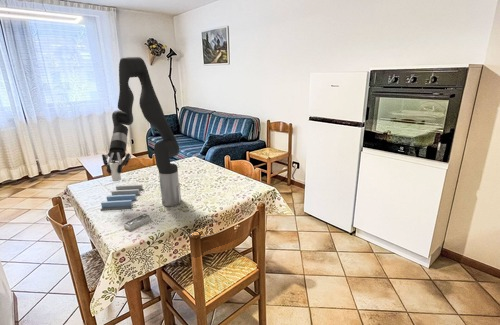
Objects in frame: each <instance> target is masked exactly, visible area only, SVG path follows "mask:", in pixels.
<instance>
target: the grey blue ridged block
mask: <svg viewBox="0 0 500 325" xmlns="http://www.w3.org/2000/svg"><path fill="white" fill-rule="evenodd" d="M143 188H144V187H143V184H140V183H139V184H125V185H124V184H123V185H122V184H121V185H116V186H115V190H111V193H110V194H111V195H106V200H105V201H101V202H100V205H101V208H100V211H101V212H107V211H123V210H124V211H125V210H131V209H132V207H133V204H134V203H135V201H136V200H137V198H138V197H139V195H140V194H141V192H142V191H143Z"/></svg>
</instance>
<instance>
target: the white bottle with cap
mask: <svg viewBox="0 0 500 325" xmlns="http://www.w3.org/2000/svg"><path fill="white" fill-rule="evenodd" d="M109 164H110V169H111V174H110V175H111V179H112V180H111V181H112V182H119V181H121V180H122V175H121V172H120V173H118V172H117V170H118V165H119V161H115V160H112V162H111V163H109Z"/></svg>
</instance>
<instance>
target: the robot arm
mask: <svg viewBox="0 0 500 325" xmlns="http://www.w3.org/2000/svg"><path fill="white" fill-rule="evenodd" d="M130 78H138V80H139V82H140V85H141V86H140V87H141V91H140V94H139V96H140V97H139V108H140V110H141V112H142V113H141V114H142V115H143V117H144V119H145V120H146V121H147V122H148V123H149V124H150V125H151V126H152V127H153V128H155V130H157V132H158V133H159V135H160V136H161V139H162V140H160V141H157V142H156V143H154V147H153V152H154V153H153V154H154V157H155V165H156V167H157V169H158V177H159V187H160V195H161V196H160V197H161V204H162V205H163V206H165V207H173V206H174V207H175V206H177V205H180V204H181V201H182V195H181V194H182V193H181V183H180V181H179V169H178V168H179V167H178V165H177V164H176V163H171V160H170V159H171V158H174V157H176V156H179V154H180V146H179V143H178V141H177V139H176V136H175V135H174V132H173V131H172V128H171V127H170V125H169V123H168V121H167V118H166V116H165V113H164V111H163V108H162V106H161V104H160V100H159V98H158V95H157V93H156V91H155V89H154V87H153V83H152V80H151V77H150V74H149V70H148V66H147V65H146V63H145V60H144V59H143V57H140V56H124V57H123V56H122V57H121V58H120V60H119V64H118V83H119V84H118V87H119V94H118V100H117V108H118V110H114V111H113V112H112V114H111V119H112V124H113V129H112V130H113V131H112V135H111V139H110V144H109V149H108V150H109V151H108V153H106V154H103V153H102V154H101V157H102V162H103V165H104V166H105V167H106V172H107V173H108V174H109V175H111V169H110V164H109V163H111V162H112V160H115V162H118V163H119V165H118V170H117V172H118V173H120V174H121V173H122V171H123V167H124V166H127V165H128V163H129V161H130V159H131V157H132V155H131V154H130V153H127V152H126V151H127V144H128V135H129V128H128V127H127V126H131V125H132V124H133V122H134V114H133V106H134V100H135V99H134V98H135V97H134V93H133V90H132V89H131V86H130V85H129V81H130ZM108 158H109V159H108Z"/></svg>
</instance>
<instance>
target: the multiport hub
mask: <svg viewBox="0 0 500 325" xmlns="http://www.w3.org/2000/svg"><path fill="white" fill-rule="evenodd" d="M149 221H152V218H151V215H149V214H147V213H142V214H141V215H138V216H137V217H134V218H132V219H130V220H128V221H126V222H124V223H123V228H124V229H127V230H129V231H132V230H134V229H135V228H137V227H140V226H141V225H143V224H145V223H147V222H149Z"/></svg>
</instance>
